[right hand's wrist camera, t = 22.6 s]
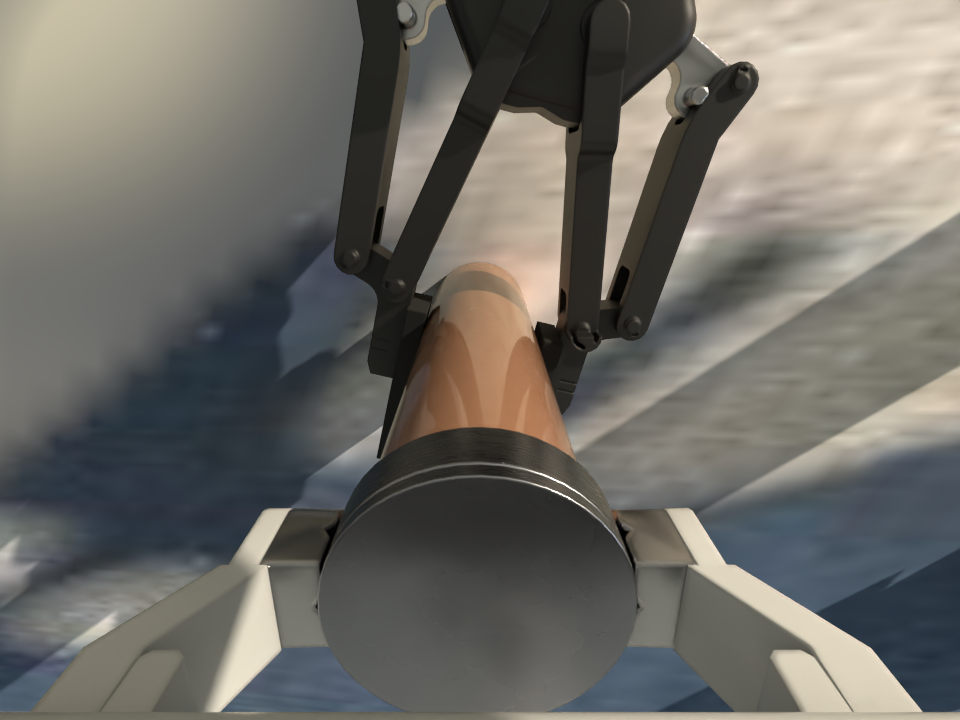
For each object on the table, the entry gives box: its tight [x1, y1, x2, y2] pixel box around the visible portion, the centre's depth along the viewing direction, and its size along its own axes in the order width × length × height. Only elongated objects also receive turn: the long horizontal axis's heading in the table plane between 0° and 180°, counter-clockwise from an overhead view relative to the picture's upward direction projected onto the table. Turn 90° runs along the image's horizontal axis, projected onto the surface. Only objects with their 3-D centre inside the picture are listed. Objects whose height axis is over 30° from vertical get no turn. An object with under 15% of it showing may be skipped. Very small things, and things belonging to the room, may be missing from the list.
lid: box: [317, 427, 638, 712], centre depth 9 cm, size 5×5×2 cm
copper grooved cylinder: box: [380, 263, 576, 461], centre depth 18 cm, size 5×5×19 cm
